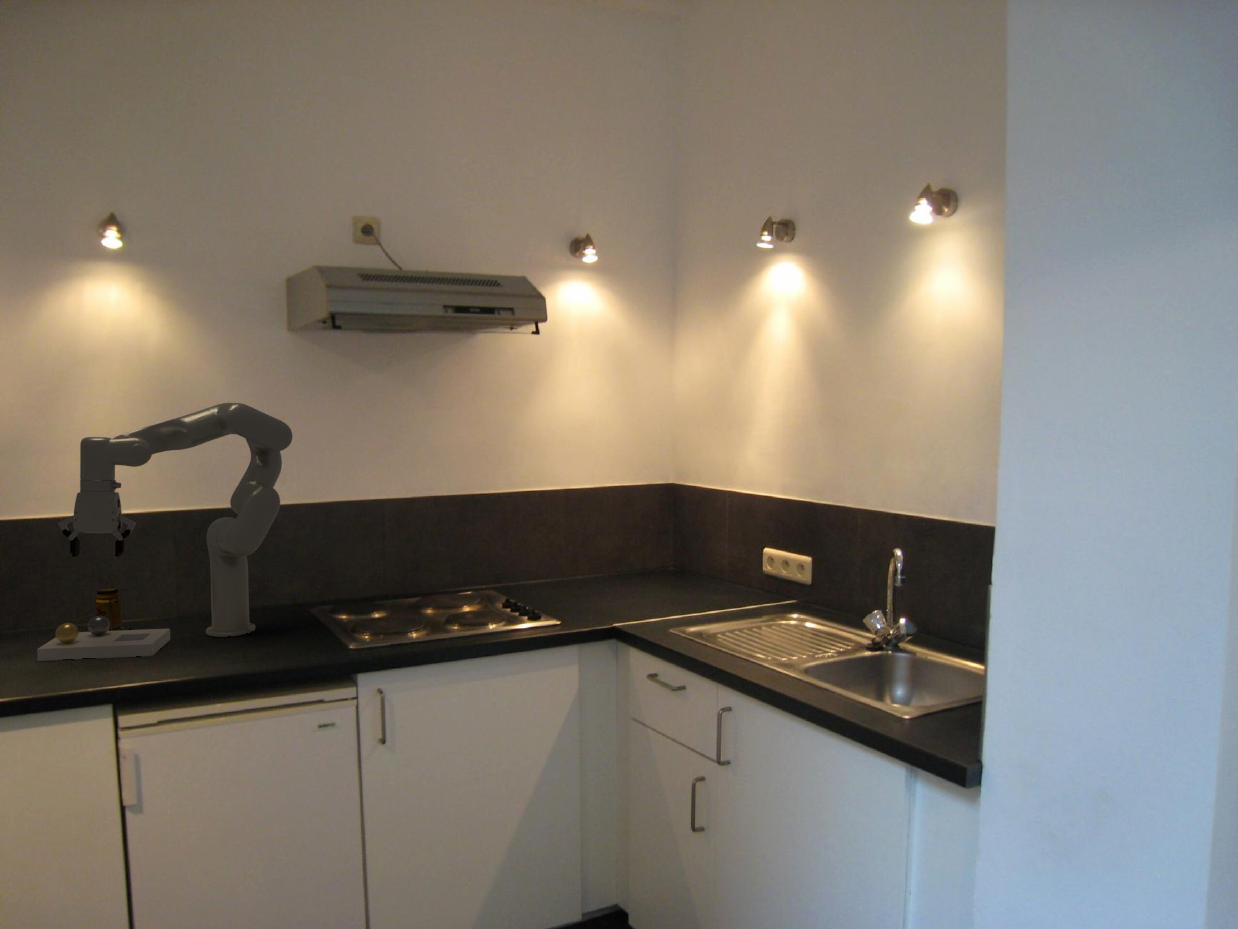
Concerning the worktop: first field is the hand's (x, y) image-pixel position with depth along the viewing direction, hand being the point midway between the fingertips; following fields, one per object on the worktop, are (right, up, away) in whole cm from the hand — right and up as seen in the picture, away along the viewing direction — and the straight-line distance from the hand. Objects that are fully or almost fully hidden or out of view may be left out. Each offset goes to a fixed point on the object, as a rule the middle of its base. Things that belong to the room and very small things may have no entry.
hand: (97, 555), depth 232 cm
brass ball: (-9, -20, +2) cm, 21 cm away
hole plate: (-1, -25, +7) cm, 26 cm away
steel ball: (-5, -19, +10) cm, 22 cm away
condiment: (-10, -24, +26) cm, 36 cm away
